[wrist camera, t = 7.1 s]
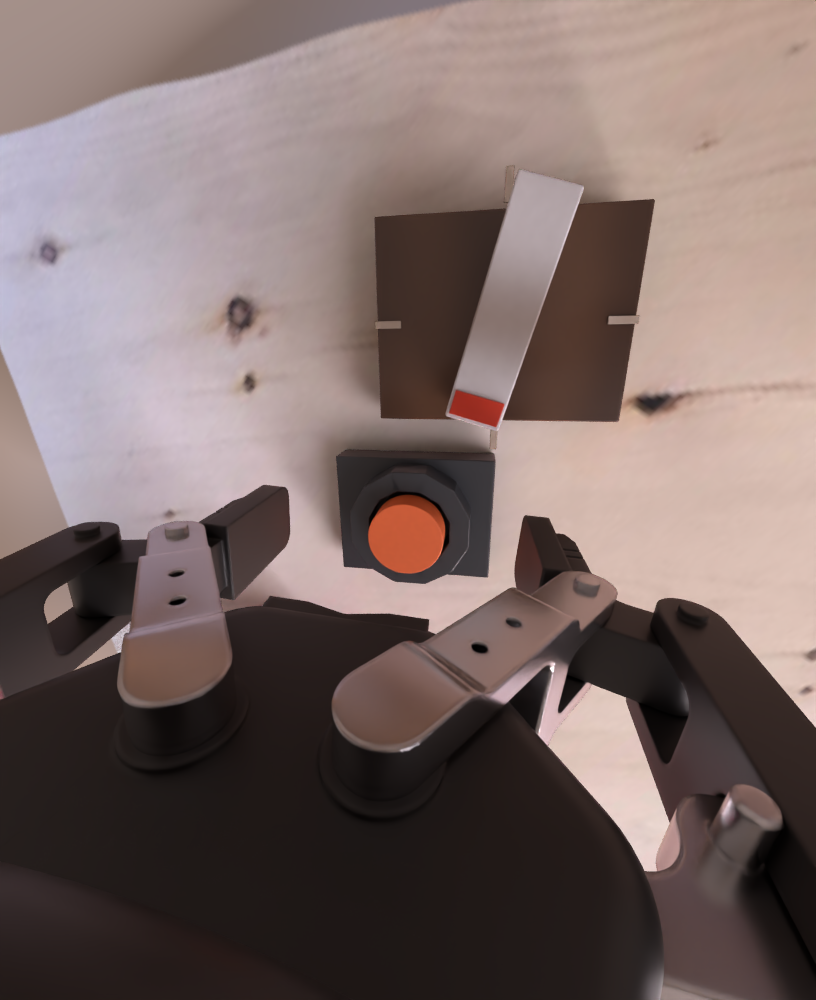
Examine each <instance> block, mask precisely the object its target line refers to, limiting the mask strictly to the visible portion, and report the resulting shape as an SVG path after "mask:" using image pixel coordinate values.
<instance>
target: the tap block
mask: <svg viewBox="0 0 816 1000" xmlns="http://www.w3.org/2000/svg"><path fill="white" fill-rule="evenodd" d="M513 179H514V165H511V166H506V178H505V195H504V203H508V202H509V198H510V195H511V192H512V188H513ZM654 203H655V200H654V199H649V200H633V201H617V202H602V203H586V204H578V207H577V210H576V212H575V215H574V218H573V221H572V224H571V227H570V229H569V232H568V235H567V238H566V241H565V244H564V246H563V249H562V252H561V255H560V258H559V261H558V263H557V266H556V269H555V272H554V275H553V278H552V281H551V283H550V286H549V289H548V292H547V295H546V298H545V300H544V303H543V306H542V309H541V312H540V315H539V317H538V320H537V323H536V326H535V329H534V332H533V334H532V337H531V340H530V343H529V346H528V349H527V351H526V354H525V357H524V360H523V363H522V366H521V368H520V371H519V374H518V377H517V380H516V383H515V385H514V388H513V391H512V394H511V397H510V400H509V402H508V405H507V408H506V411H505V414H504V417H503V419H502V420H523V421H590V422H618V421H619V416H620V410H621V404H622V398H623V392H624V386H625V379H626V373H627V367H628V361H629V355H630V349H631V343H632V337H633V331H634V325H635V324H638V323H639V317H640V316H639V315H637V316H636V312H637V306H638V300H639V294H640V288H641V282H642V276H643V270H644V264H645V257H646V251H647V245H648V239H649V233H650V227H651V221H652V215H653V209H654ZM505 212H506V209H492V210H476V211H460V212H445V213H429V214H413V215H398V216H382V217H375V248H376V279H377V311H378V321H375V329H378V342H379V374H380V406H381V418H391V419H454V418H450V417H447V416H446V415H445V413H446V410H447V406H448V403H449V400H450V396H451V393H452V390H453V386H454V383H455V380H456V376H457V373H458V370H459V366H460V363H461V359H462V356H463V353H464V349H465V346H466V343H467V339H468V336H469V333H470V329H471V326H472V323H473V319H474V316H475V313H476V309H477V306H478V302H479V299H480V296H481V292H482V289H483V286H484V282H485V279H486V276H487V272H488V269H489V266H490V262H491V259H492V255H493V252H494V249H495V245H496V242H497V239H498V235H499V232H500V229H501V225H502V222H503V219H504V215H505ZM496 443H497V431H494V430H491V433H490V449H496Z"/></svg>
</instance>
